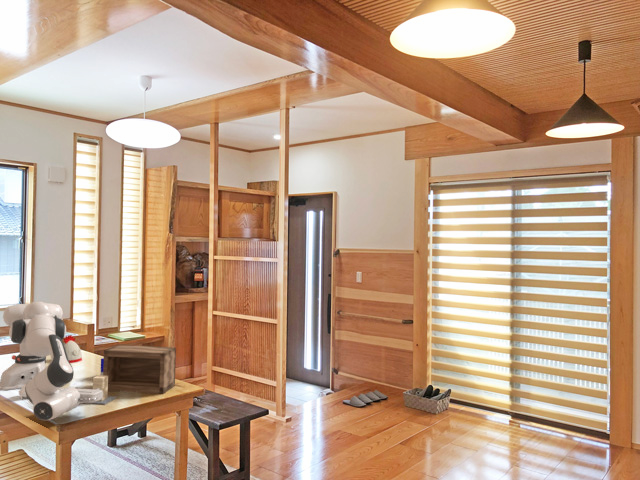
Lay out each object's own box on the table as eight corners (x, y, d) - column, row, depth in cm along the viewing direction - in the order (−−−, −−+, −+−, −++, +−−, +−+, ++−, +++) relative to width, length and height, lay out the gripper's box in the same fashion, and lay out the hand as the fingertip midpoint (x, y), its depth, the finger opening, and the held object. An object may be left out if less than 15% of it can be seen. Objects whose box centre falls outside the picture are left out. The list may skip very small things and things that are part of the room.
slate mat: (104, 404, 224) (104, 403, 224) (83, 403, 225) (83, 401, 225) (116, 398, 233) (116, 396, 233) (95, 396, 234) (95, 395, 235)
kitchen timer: (50, 362, 298) (51, 336, 298) (68, 357, 311) (69, 332, 312) (69, 364, 294) (70, 338, 294) (87, 359, 307) (87, 334, 307)
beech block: (102, 401, 227) (102, 378, 227) (92, 400, 227) (93, 377, 227) (107, 398, 231) (108, 375, 231) (97, 397, 231) (98, 375, 232)
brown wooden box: (163, 394, 242) (164, 353, 242) (102, 390, 245) (103, 350, 245) (174, 386, 255) (175, 347, 256) (117, 382, 259) (118, 344, 259)
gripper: (93, 392, 203) (110, 383, 217) (44, 389, 205) (65, 381, 219) (92, 408, 203) (110, 398, 217) (43, 405, 205) (64, 395, 219)
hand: (87, 389), depth 218 cm, fingers open, 8 cm apart
